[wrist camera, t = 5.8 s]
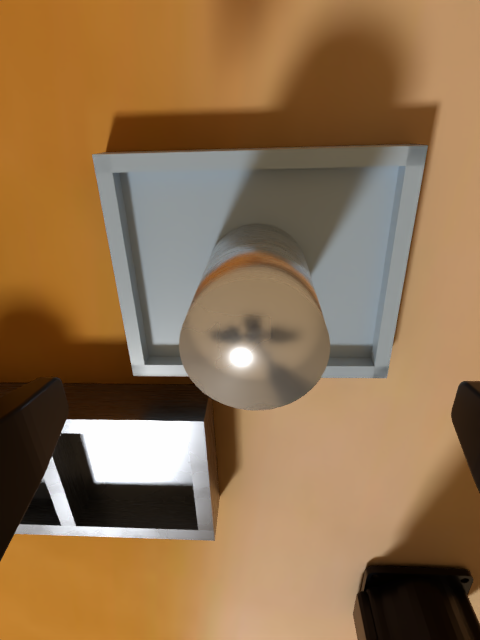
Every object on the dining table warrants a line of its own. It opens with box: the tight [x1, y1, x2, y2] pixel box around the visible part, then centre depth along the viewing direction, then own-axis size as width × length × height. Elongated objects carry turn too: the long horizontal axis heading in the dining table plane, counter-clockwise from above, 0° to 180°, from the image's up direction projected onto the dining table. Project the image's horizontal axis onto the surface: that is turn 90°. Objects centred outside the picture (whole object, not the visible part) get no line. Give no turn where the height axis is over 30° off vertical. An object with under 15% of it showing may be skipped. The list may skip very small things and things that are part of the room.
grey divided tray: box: [0, 383, 220, 541], centre depth 20 cm, size 15×8×3 cm, turn 92°
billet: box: [179, 224, 330, 410], centre depth 13 cm, size 4×4×6 cm
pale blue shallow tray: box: [92, 144, 428, 378], centre depth 15 cm, size 11×9×1 cm
